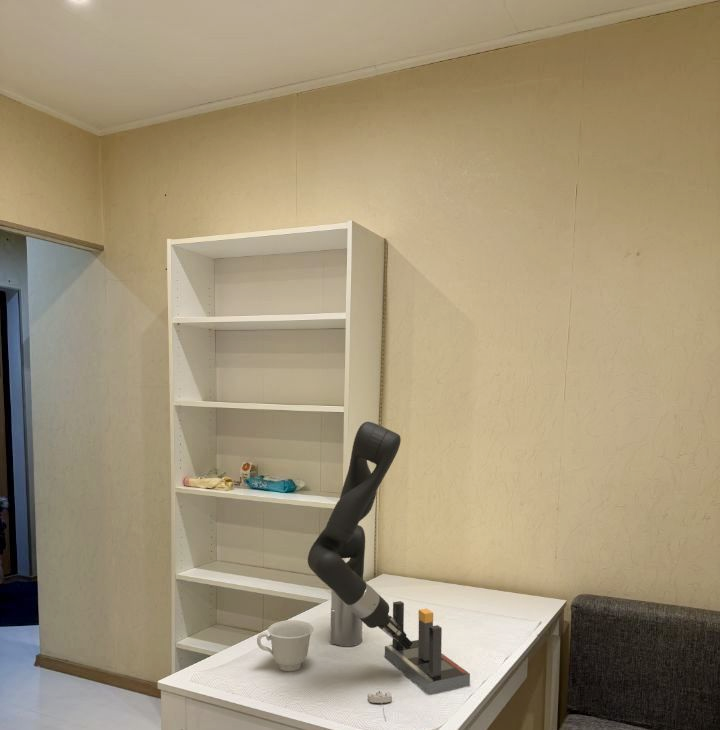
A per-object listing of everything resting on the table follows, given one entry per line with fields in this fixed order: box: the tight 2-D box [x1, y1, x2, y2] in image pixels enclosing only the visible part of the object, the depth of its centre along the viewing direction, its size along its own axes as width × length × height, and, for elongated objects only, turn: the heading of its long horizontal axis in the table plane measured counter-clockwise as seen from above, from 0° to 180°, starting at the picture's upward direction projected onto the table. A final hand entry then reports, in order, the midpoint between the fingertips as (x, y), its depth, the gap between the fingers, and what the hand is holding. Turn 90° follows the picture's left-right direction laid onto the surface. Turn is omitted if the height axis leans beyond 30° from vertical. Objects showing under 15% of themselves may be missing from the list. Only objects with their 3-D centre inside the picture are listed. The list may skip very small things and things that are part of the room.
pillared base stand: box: [384, 600, 471, 696], centre depth 165 cm, size 12×23×15 cm, turn 25°
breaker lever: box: [418, 608, 434, 661], centre depth 165 cm, size 2×3×12 cm
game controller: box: [367, 690, 393, 722], centre depth 146 cm, size 6×12×3 cm, turn 23°
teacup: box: [256, 619, 314, 672], centre depth 166 cm, size 12×15×10 cm
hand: (408, 645), depth 163 cm, fingers closed
